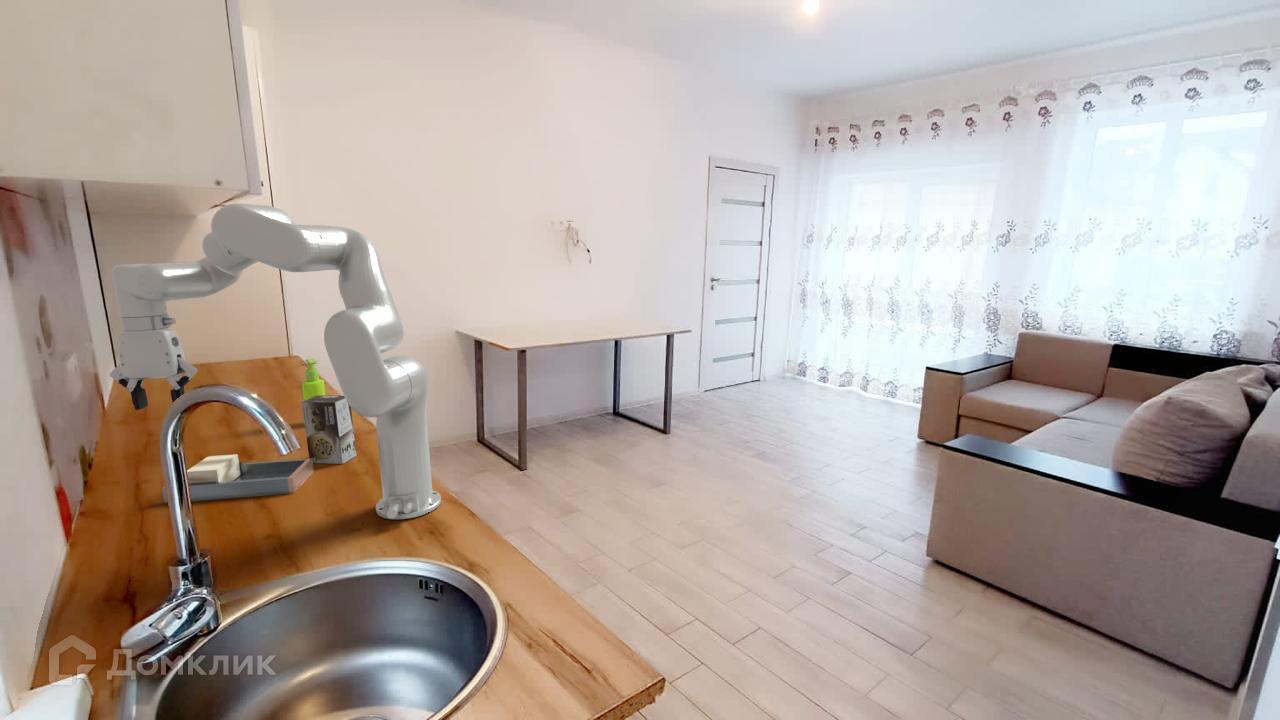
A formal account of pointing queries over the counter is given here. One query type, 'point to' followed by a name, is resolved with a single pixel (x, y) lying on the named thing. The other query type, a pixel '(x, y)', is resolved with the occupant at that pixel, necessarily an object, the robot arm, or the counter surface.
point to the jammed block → (215, 469)
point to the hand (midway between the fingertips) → (160, 406)
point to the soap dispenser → (312, 382)
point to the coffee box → (329, 429)
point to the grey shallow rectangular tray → (256, 480)
